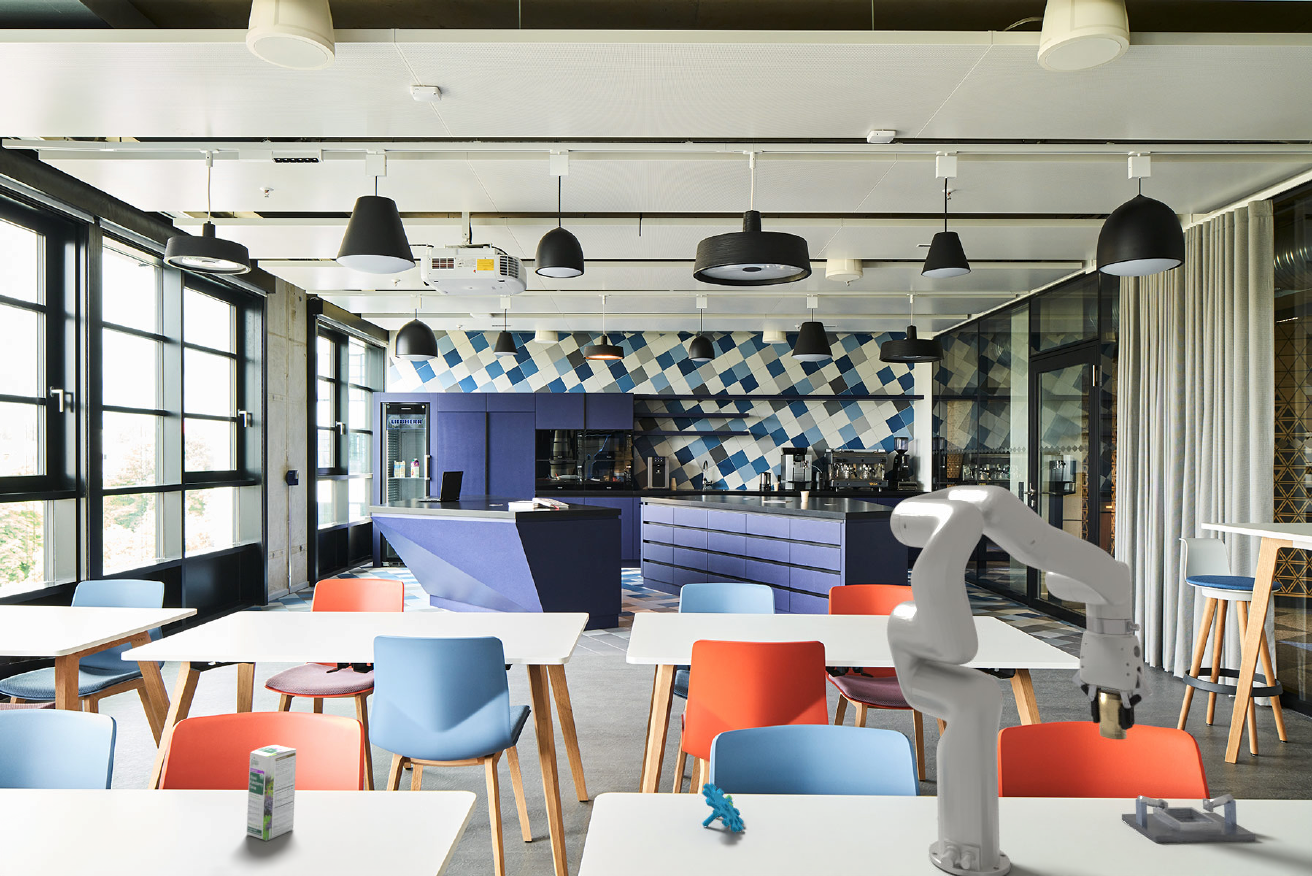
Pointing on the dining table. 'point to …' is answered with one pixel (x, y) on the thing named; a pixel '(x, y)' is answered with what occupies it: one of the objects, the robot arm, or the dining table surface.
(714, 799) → the gear
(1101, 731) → the cylinder
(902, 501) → the robot arm
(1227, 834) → the coupling stand
